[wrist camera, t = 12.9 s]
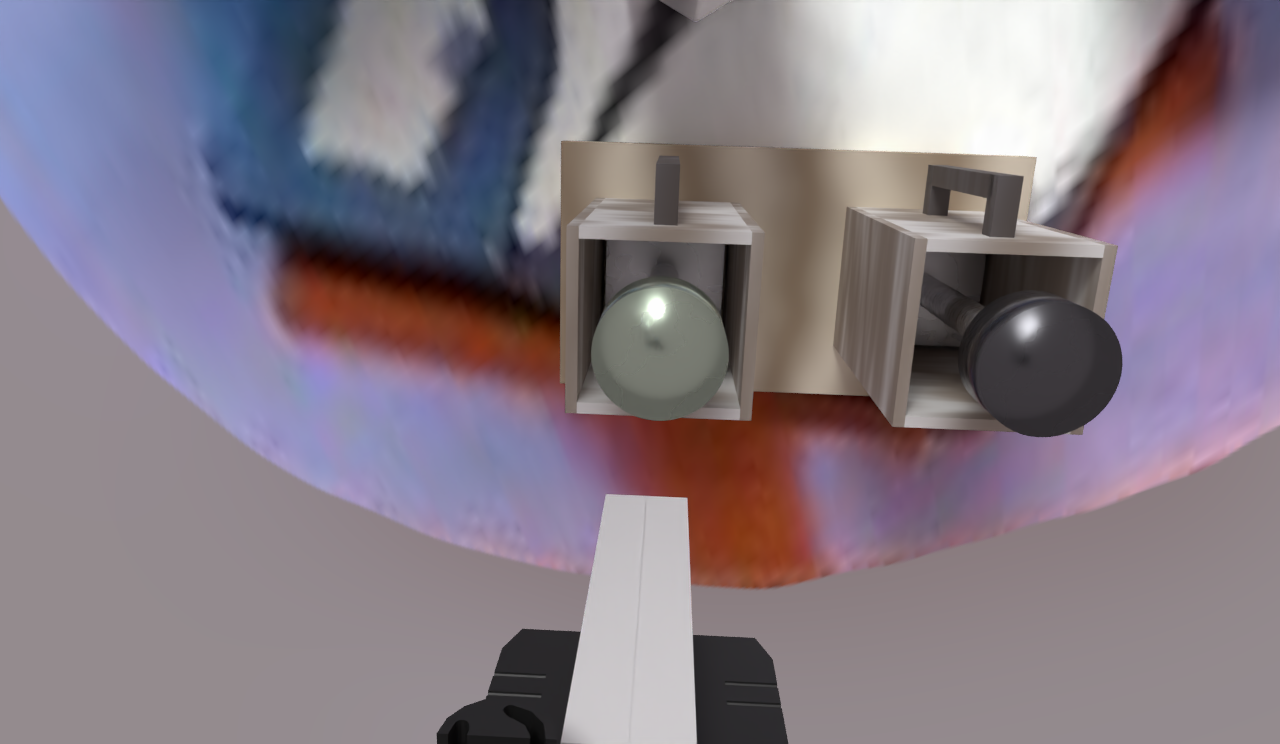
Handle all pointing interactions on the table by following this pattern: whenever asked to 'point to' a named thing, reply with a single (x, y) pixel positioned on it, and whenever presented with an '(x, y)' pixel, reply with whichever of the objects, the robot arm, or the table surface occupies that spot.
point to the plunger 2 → (1019, 348)
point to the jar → (695, 7)
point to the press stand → (815, 263)
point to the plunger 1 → (661, 328)
